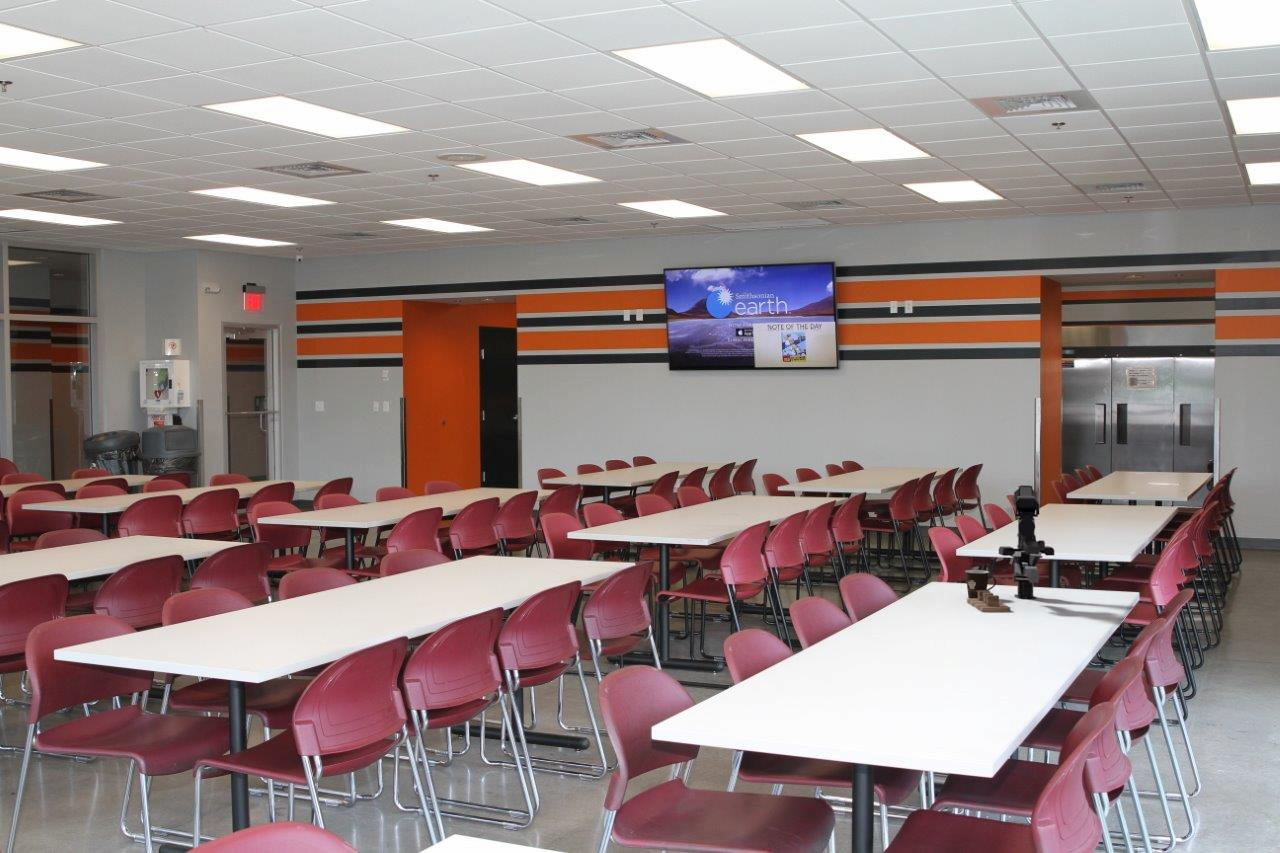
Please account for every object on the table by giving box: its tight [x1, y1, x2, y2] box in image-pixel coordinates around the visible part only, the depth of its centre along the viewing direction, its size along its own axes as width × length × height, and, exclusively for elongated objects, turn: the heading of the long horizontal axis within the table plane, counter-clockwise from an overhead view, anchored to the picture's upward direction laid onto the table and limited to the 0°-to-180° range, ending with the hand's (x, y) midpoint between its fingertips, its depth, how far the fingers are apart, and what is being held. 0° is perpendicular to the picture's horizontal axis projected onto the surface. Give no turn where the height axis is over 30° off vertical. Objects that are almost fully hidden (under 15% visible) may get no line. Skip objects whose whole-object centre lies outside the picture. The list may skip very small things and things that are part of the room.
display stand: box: [966, 590, 1011, 613], centre depth 440 cm, size 20×10×5 cm, turn 0°
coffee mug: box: [964, 569, 997, 599], centre depth 459 cm, size 12×9×10 cm
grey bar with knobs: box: [1014, 562, 1040, 584], centre depth 440 cm, size 18×4×5 cm, turn 0°
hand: (1026, 574), depth 440 cm, fingers closed on grey bar with knobs, 3 cm apart
